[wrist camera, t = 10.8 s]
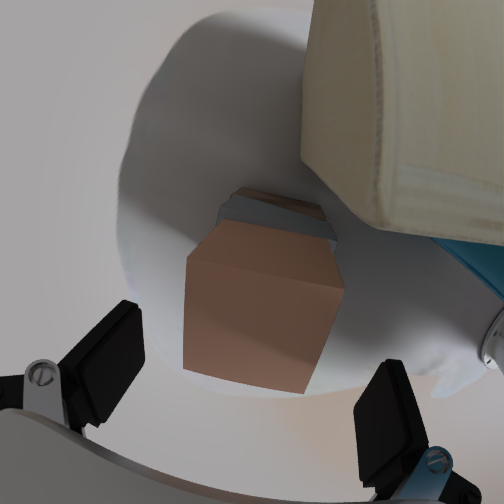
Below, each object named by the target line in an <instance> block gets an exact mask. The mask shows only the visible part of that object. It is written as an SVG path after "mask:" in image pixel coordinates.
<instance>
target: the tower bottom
mask: <svg viewBox="0 0 504 504" xmlns="http://www.w3.org/2000/svg"><path fill="white" fill-rule="evenodd" d="M235 194H237V195H241V196H244V197H248V198H251V199H255V200H258V201H262V202H265V203H268V204H272V205H275V206H278V207H282V208H285V209H288V210H291V211H295V212H298V213H301V214H304V215H307V216H310V217H313V218H317V219H320V220H323V221H325V215H324V213H323V211H322V209H321V207H320V206H319V205H315V204H311V203H307V202H303V201H299V200H295V199H291V198H286V197H282V196H278V195H273V194H269V193H264V192H260V191H255V190H251V189H246V188H240V189H239V190H237V191H236V192H234V193H233V194H232V195H231V196H230V198H232V197H233V196H234V195H235Z"/></svg>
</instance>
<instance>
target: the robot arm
mask: <svg viewBox="0 0 504 504" xmlns="http://www.w3.org/2000/svg"><path fill="white" fill-rule="evenodd" d="M481 358H482V361H483V363H484V365H485V366H486V367H487V368H489V369H497V368H500V370H501V371H502V373H503V375H504V309H503V310H502V312H501V313H500V314H499V315H498V317H497V318H496V320H495V321H494V322H493V324H492V326H491V327H490V329H489V331H488V333H487V335H486V337H485V340H484V343H483V345H482V350H481ZM144 362H145V351H144V339H143V326H142V311H141V309H140V308H138V305H137V304H136V303H133V302H130V301H127V300H122V301H121V302H120V303H119V304H118V305H117V306H116V307H115V308H114V309H113V310H112V311H110V312H109V313H108V314H107V315H106V316H105V317H104V318H103V319H102V320H101V321H100V322H99V323H98V324H97V325H96V326H95V327H94V328H93V329H92V330H91V331H90V332H89V333H88V334H87V335H86V336H85V337H84V338H83V339H82V340H81V341H80V342H79V343H78V344H77V345H76V346H75V347H74V348H73V349H72V350H71V351H70V352H69V353H68V354H67V355H66V356H65V357H64V358H63V359H62V360H61V361H60V362H59V363H58V364H57V365H56V364H55V363H53V362H52V361H50V360H46V359H41V360H36V361H34V362H32V363H31V364H30V365H29V366H28V367H27V369H26V370H25V374H24V375H13V376H2V377H0V504H481V500H482V496H481V492H480V490H479V488H477V487H476V486H475V485H474V484H472V483H470V482H469V481H467V480H466V479H464V478H463V477H461V476H460V475H458V474H457V473H455V472H454V471H452V467H453V459H452V457H451V455H450V453H449V452H448V451H447V450H446V449H444V448H442V447H440V446H433V447H430V448H429V445H428V443H429V441H428V438H427V435H426V431H425V427H424V424H423V421H422V417H421V414H420V411H419V408H418V405H417V402H416V399H415V396H414V393H413V390H412V387H411V384H410V381H409V379H408V376H407V373H406V370H405V368H404V365H403V362H402V361H401V360H395V359H387V360H386V361H385V362H382V363H381V364H380V366H379V367H378V369H377V371H376V372H375V374H374V376H373V377H372V379H371V381H370V382H369V384H368V386H367V387H366V389H365V390H364V392H363V393H362V395H361V397H360V398H359V400H358V401H357V403H356V404H355V406H354V411H353V414H354V422H355V432H356V442H357V453H358V466H359V478H360V481H363V488H365V487H366V488H367V487H375V494H374V495H373V496H372V498H371V499H370V500H369V501H368V502H343V503H321V502H300V501H287V500H278V499H269V498H262V497H255V496H249V495H244V494H238V493H233V492H229V491H224V490H219V489H215V488H211V487H208V486H204V485H200V484H196V483H193V482H190V481H186V480H183V479H180V478H177V477H174V476H171V475H168V474H165V473H162V472H159V471H157V470H154V469H152V468H149V467H147V466H144V465H141V464H139V463H137V462H134V461H132V460H130V459H128V458H125V457H123V456H121V455H119V454H117V453H115V452H113V451H111V450H108V449H106V448H104V447H102V446H100V445H98V444H96V443H95V442H92V441H91V440H89V439H87V438H86V435H85V430H84V427H85V426H86V424H87V423H90V424H91V425H93V426H95V427H97V428H98V427H99V425H100V424H101V423H105V422H106V421H107V419H108V418H109V416H110V415H111V413H112V412H113V410H114V409H115V407H116V406H117V404H118V403H119V401H120V400H121V398H122V397H123V395H124V394H125V392H126V391H127V389H128V388H129V386H130V385H131V383H132V382H133V380H134V379H135V377H136V376H137V374H138V373H139V371H140V370H141V368H142V367H143V365H144Z"/></svg>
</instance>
